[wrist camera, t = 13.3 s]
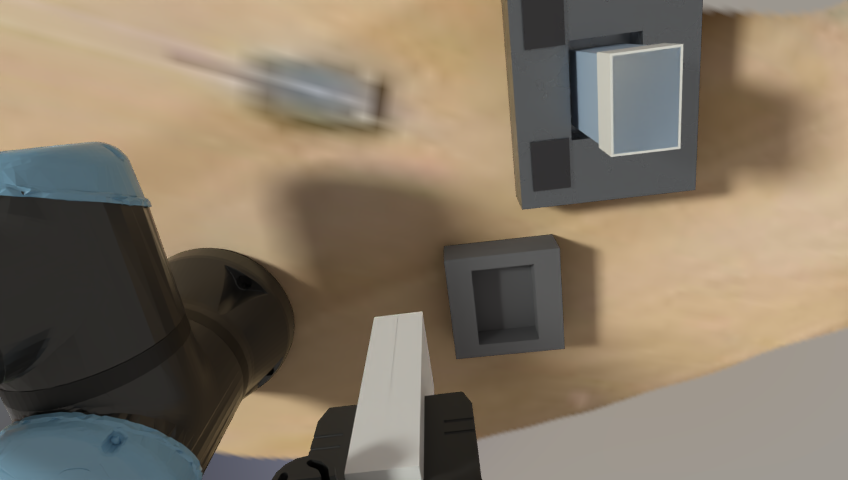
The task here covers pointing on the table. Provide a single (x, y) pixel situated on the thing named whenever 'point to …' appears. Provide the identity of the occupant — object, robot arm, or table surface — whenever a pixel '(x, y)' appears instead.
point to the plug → (628, 96)
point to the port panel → (551, 98)
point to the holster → (505, 296)
